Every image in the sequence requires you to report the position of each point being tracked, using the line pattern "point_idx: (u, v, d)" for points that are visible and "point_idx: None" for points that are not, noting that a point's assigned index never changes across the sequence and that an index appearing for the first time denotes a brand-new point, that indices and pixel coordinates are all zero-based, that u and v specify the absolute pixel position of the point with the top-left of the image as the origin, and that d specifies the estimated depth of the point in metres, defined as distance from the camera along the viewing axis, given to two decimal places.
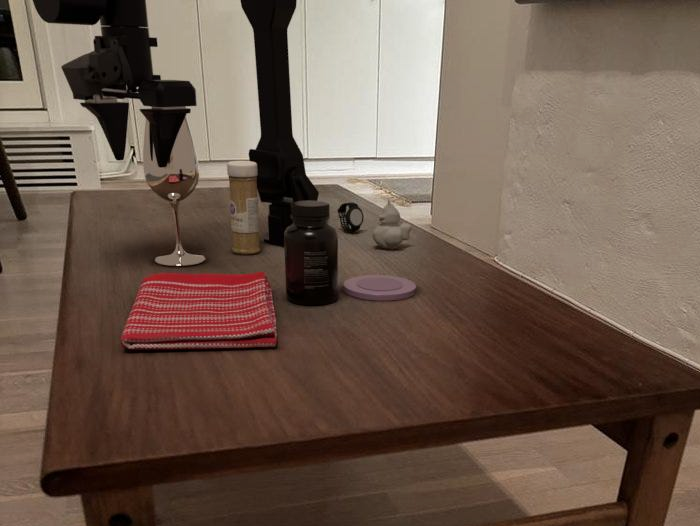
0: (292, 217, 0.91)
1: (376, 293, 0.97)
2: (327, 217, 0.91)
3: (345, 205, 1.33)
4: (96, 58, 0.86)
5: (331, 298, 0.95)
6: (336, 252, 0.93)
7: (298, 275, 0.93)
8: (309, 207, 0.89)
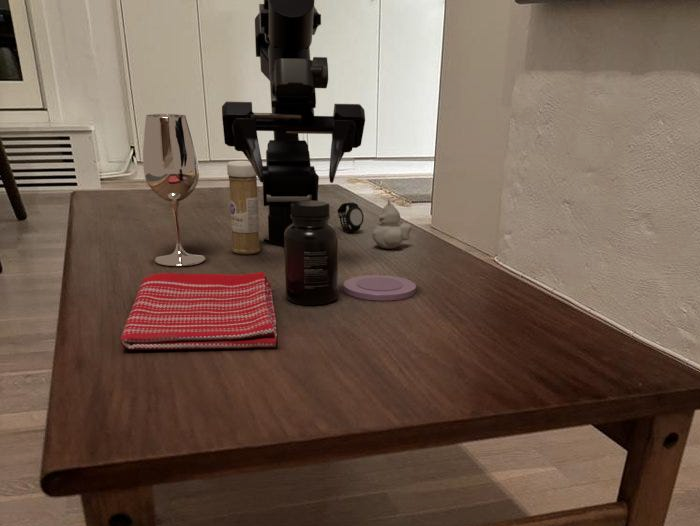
0: (292, 217, 0.91)
1: (376, 293, 0.97)
2: (327, 217, 0.91)
3: (345, 205, 1.33)
4: (324, 59, 0.93)
5: (331, 298, 0.95)
6: (336, 252, 0.93)
7: (298, 274, 0.93)
8: (309, 207, 0.89)
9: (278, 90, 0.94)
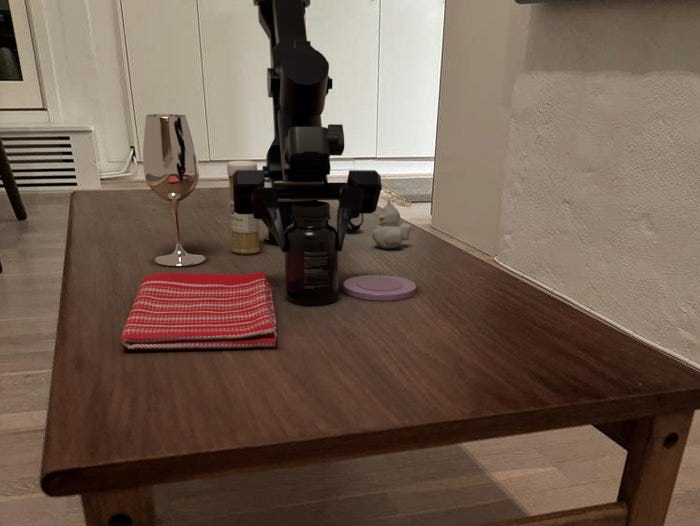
0: (292, 217, 0.91)
1: (376, 293, 0.97)
2: (327, 217, 0.91)
3: None
4: (340, 126, 0.89)
5: (331, 298, 0.95)
6: (336, 252, 0.93)
7: (298, 275, 0.93)
8: (309, 207, 0.89)
9: (292, 158, 0.90)
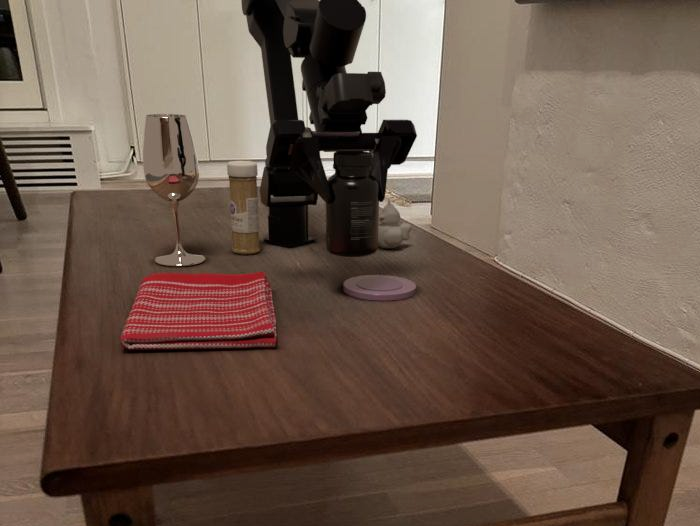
0: (337, 167, 0.90)
1: (376, 293, 0.97)
2: (371, 166, 0.91)
3: None
4: (379, 74, 0.89)
5: (374, 249, 0.95)
6: (378, 202, 0.93)
7: (344, 226, 0.92)
8: (356, 156, 0.89)
9: (333, 107, 0.89)
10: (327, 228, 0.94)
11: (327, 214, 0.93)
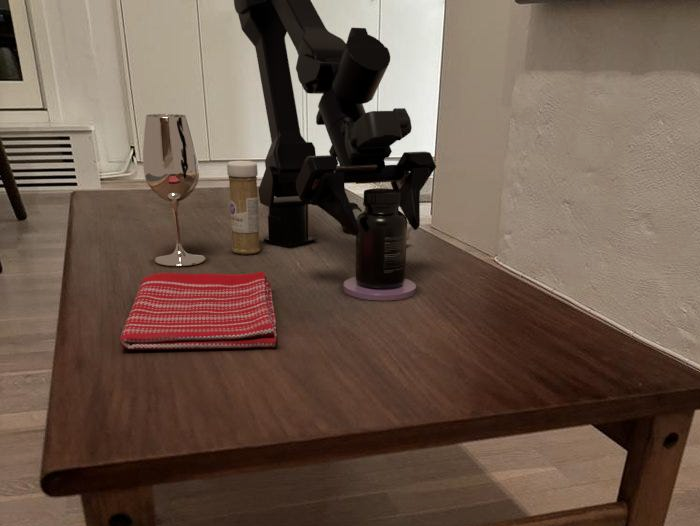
0: (369, 205, 0.94)
1: (376, 293, 0.97)
2: (400, 203, 0.96)
3: None
4: (404, 110, 0.94)
5: (403, 280, 1.00)
6: None
7: (377, 260, 0.96)
8: (388, 194, 0.93)
9: (364, 142, 0.93)
10: (358, 262, 0.98)
11: (359, 249, 0.97)
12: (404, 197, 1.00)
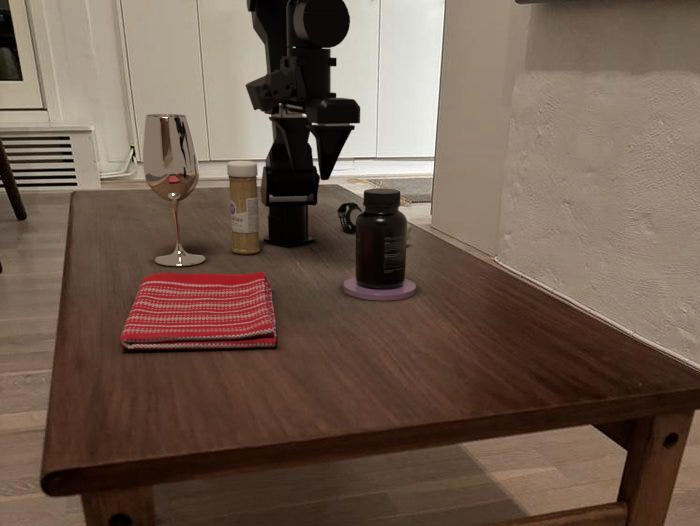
0: (369, 205, 0.94)
1: (376, 293, 0.97)
2: (400, 203, 0.96)
3: (345, 205, 1.33)
4: (270, 77, 0.92)
5: (403, 280, 1.00)
6: None
7: (377, 260, 0.96)
8: (388, 194, 0.93)
9: None
10: (358, 262, 0.98)
11: (359, 249, 0.97)
12: None
